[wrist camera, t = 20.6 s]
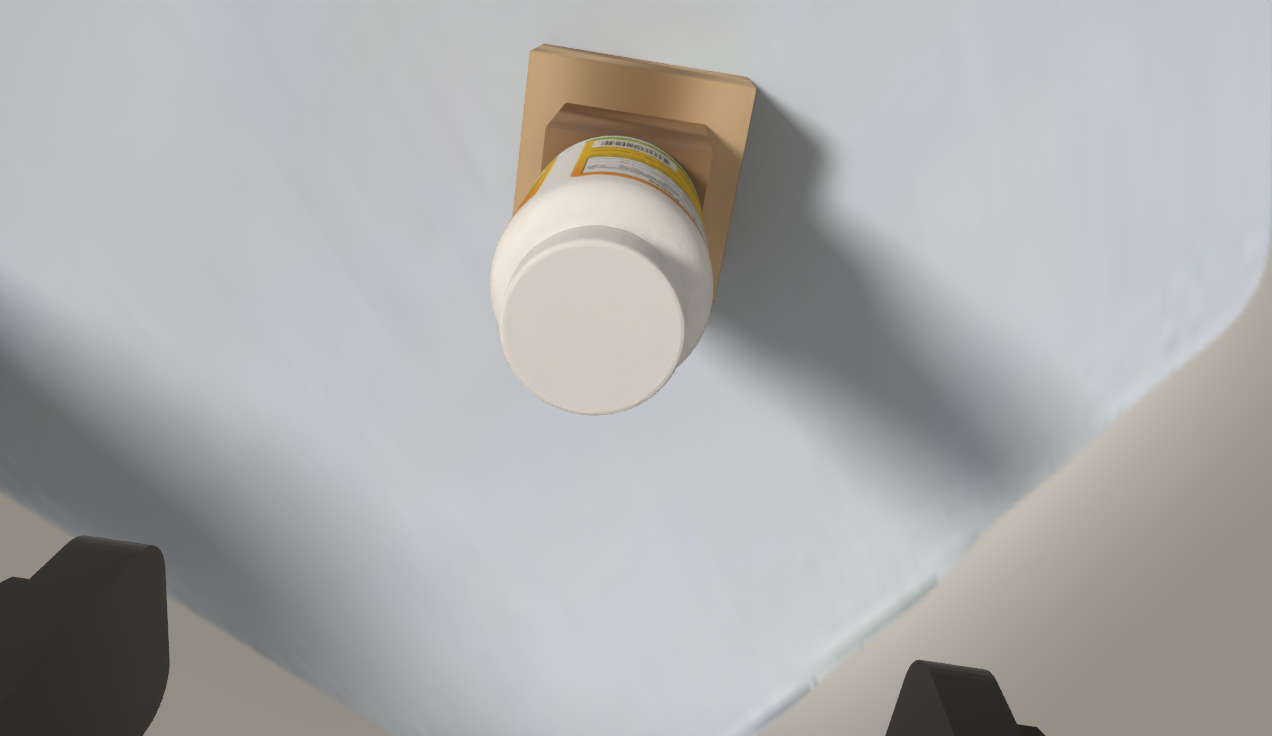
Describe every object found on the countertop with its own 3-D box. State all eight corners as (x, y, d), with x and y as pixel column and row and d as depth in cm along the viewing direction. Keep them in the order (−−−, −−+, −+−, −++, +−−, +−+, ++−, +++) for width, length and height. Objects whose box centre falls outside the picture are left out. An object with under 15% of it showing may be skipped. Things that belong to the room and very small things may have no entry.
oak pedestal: (522, 242, 39) (506, 270, 36) (543, 43, 36) (530, 50, 32) (709, 272, 40) (714, 302, 36) (747, 77, 36) (756, 88, 33)
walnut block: (549, 238, 35) (527, 287, 30) (565, 102, 33) (545, 127, 28) (681, 259, 35) (684, 310, 30) (705, 124, 33) (712, 153, 28)
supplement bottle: (575, 332, 30) (536, 481, 21) (496, 179, 28) (416, 271, 19) (730, 264, 29) (759, 391, 20) (659, 102, 27) (654, 162, 18)
